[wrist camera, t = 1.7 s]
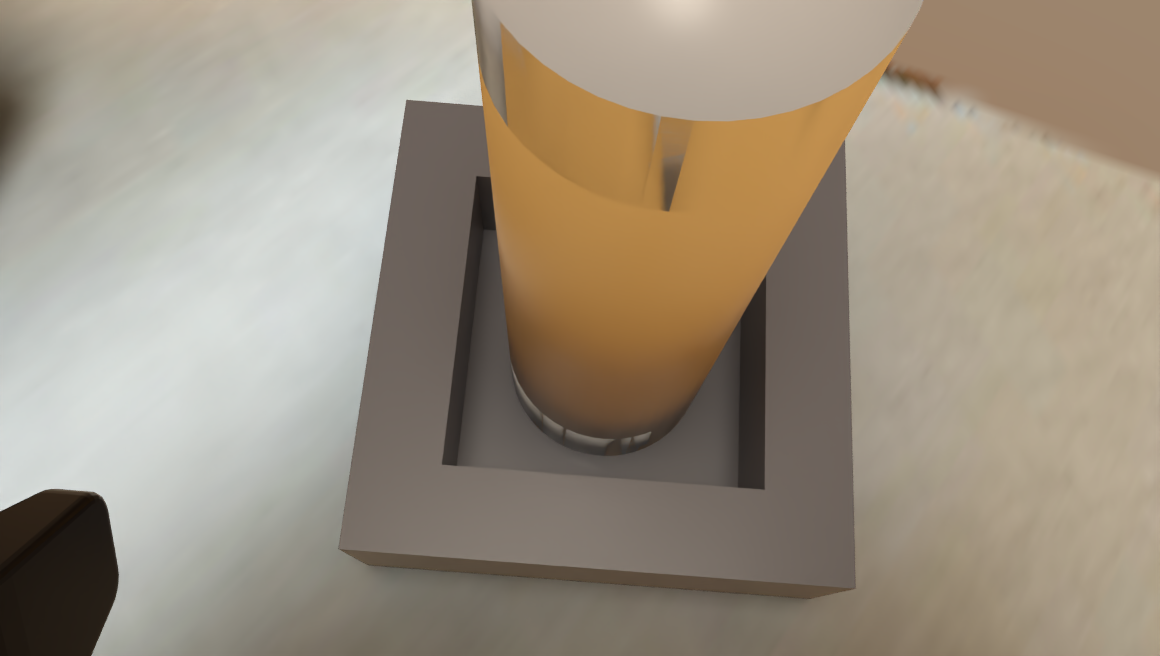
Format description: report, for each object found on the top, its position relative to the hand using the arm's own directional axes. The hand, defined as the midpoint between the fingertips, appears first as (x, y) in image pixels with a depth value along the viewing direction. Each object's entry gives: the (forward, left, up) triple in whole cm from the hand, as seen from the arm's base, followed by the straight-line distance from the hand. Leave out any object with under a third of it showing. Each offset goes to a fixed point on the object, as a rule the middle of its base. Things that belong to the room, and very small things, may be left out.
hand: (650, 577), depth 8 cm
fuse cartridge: (+5, -2, -11) cm, 13 cm away
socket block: (+5, -2, -12) cm, 13 cm away
